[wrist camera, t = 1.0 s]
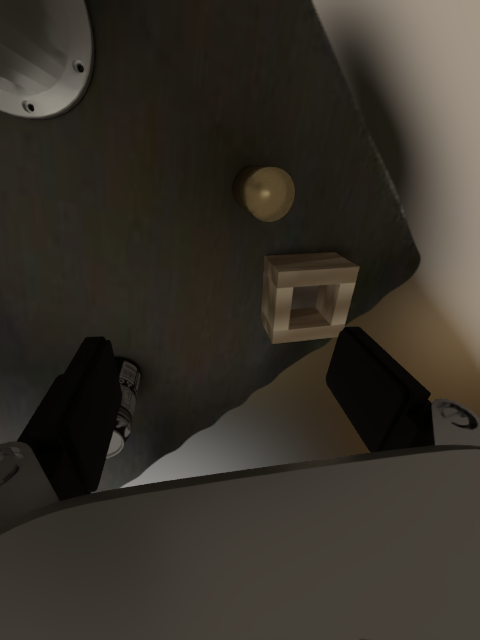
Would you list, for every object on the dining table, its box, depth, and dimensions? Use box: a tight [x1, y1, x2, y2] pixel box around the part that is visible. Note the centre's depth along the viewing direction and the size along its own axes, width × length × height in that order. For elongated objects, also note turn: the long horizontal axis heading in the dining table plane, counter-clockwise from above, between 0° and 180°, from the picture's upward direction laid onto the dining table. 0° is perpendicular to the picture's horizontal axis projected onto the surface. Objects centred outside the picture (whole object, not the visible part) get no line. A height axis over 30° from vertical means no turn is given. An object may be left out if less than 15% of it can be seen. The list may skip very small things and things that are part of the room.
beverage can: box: [106, 359, 141, 458], centre depth 35 cm, size 7×7×12 cm
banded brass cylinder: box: [232, 166, 295, 222], centre depth 26 cm, size 4×4×8 cm
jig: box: [261, 252, 359, 344], centre depth 35 cm, size 10×10×6 cm
